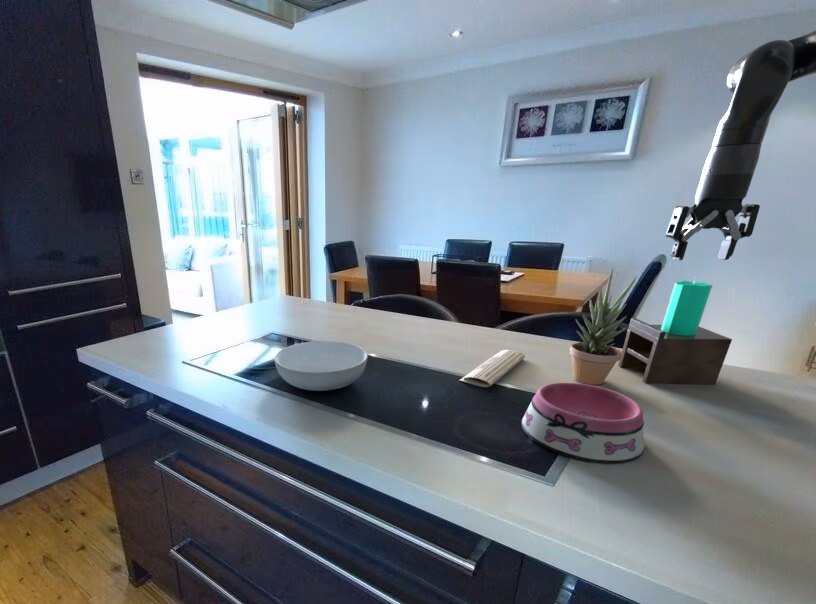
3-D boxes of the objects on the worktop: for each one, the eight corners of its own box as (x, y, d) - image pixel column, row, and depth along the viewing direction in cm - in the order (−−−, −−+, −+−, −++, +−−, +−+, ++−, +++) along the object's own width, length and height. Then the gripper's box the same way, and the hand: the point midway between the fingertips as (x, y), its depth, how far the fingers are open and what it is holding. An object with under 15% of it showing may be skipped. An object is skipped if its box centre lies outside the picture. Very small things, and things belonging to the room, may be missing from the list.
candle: (694, 337, 92) (714, 279, 88) (659, 332, 96) (676, 276, 91) (697, 330, 96) (715, 275, 92) (662, 326, 100) (679, 272, 95)
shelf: (681, 366, 105) (697, 318, 100) (715, 384, 95) (734, 332, 90) (618, 365, 106) (630, 318, 102) (645, 383, 96) (660, 331, 92)
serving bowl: (291, 363, 113) (290, 338, 111) (372, 369, 108) (373, 343, 105) (262, 397, 95) (260, 367, 92) (358, 406, 90) (359, 375, 87)
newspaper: (489, 388, 96) (491, 381, 95) (458, 381, 100) (459, 373, 99) (524, 359, 112) (526, 352, 111) (496, 353, 116) (497, 347, 115)
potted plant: (617, 377, 99) (648, 266, 90) (609, 391, 93) (641, 272, 83) (568, 368, 106) (591, 262, 96) (557, 380, 99) (581, 268, 89)
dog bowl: (657, 434, 76) (669, 399, 73) (624, 478, 65) (636, 438, 62) (545, 402, 89) (552, 370, 86) (502, 434, 78) (508, 399, 75)
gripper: (700, 173, 81) (674, 263, 88) (786, 170, 80) (753, 261, 86) (673, 174, 88) (651, 257, 95) (752, 171, 87) (724, 256, 93)
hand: (699, 259), depth 90 cm, fingers open, 8 cm apart
